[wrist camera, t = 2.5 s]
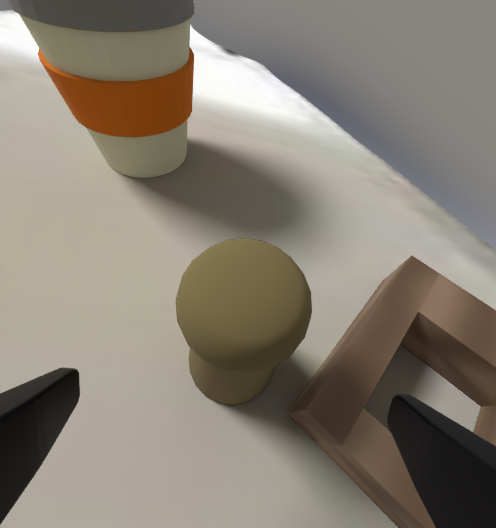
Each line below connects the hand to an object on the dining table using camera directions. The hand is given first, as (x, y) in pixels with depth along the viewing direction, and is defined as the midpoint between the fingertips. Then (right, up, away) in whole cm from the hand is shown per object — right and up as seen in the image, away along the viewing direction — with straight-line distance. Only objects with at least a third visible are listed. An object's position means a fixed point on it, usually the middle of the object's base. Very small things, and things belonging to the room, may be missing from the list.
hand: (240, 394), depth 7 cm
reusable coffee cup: (-11, +16, +22) cm, 30 cm away
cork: (-1, -3, +11) cm, 11 cm away
